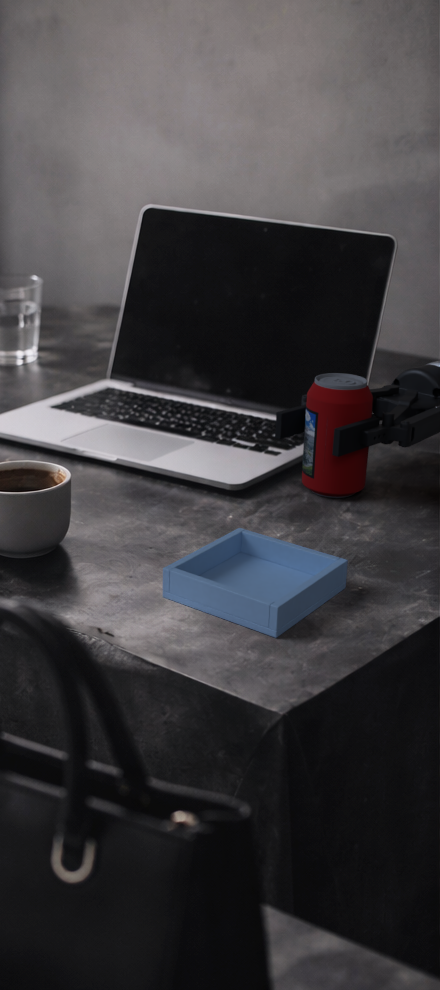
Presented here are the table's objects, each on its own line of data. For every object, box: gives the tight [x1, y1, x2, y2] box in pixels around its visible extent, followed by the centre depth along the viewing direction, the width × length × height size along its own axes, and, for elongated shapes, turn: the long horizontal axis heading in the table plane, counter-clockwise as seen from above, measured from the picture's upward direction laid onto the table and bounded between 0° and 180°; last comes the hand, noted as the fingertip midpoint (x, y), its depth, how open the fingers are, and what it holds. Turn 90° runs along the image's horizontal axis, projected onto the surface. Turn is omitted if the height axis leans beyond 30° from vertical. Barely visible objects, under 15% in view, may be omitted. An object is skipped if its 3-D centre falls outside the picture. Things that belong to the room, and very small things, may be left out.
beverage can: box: [301, 372, 373, 499], centre depth 102 cm, size 7×7×12 cm
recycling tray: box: [162, 527, 349, 639], centre depth 80 cm, size 11×11×3 cm
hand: (306, 434), depth 98 cm, fingers closed on beverage can, 7 cm apart
